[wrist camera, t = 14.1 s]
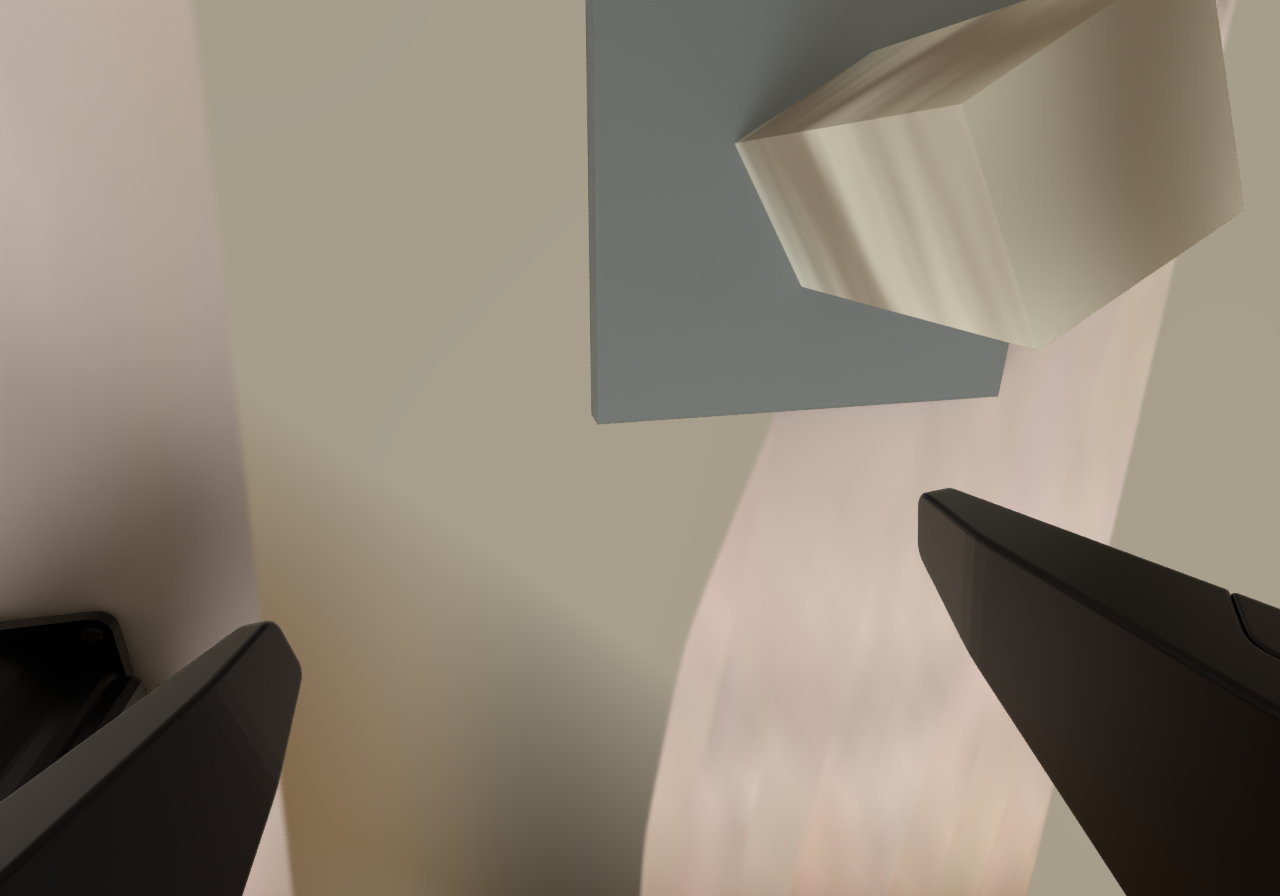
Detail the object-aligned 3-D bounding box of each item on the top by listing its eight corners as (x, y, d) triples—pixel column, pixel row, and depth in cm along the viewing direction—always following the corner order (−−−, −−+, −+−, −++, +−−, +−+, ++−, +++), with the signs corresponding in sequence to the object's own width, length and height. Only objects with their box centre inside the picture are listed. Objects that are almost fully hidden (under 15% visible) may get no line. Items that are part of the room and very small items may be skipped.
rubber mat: (591, 414, 21) (597, 424, 20) (583, -152, 16) (591, -172, 15) (977, 388, 24) (998, 396, 23) (1068, -87, 19) (1098, -100, 19)
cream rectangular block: (801, 286, 20) (1037, 350, 12) (734, 143, 18) (962, 104, 10) (925, 203, 20) (1245, 210, 12) (872, 51, 18) (1207, -61, 10)
